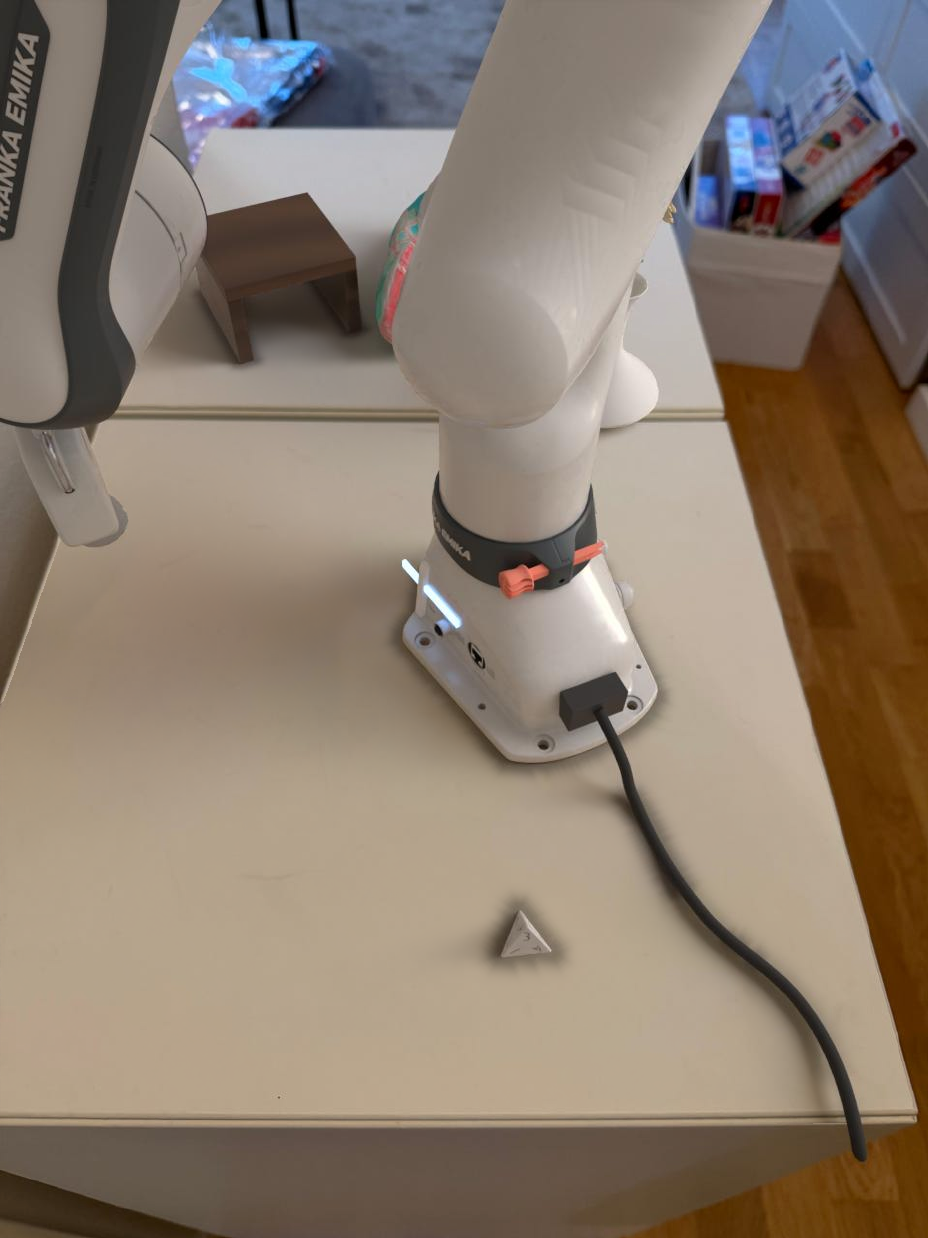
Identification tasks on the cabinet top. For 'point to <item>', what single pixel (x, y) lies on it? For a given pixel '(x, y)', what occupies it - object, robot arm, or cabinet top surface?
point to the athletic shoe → (399, 260)
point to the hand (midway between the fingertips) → (87, 499)
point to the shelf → (274, 262)
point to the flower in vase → (631, 371)
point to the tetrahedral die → (524, 939)
